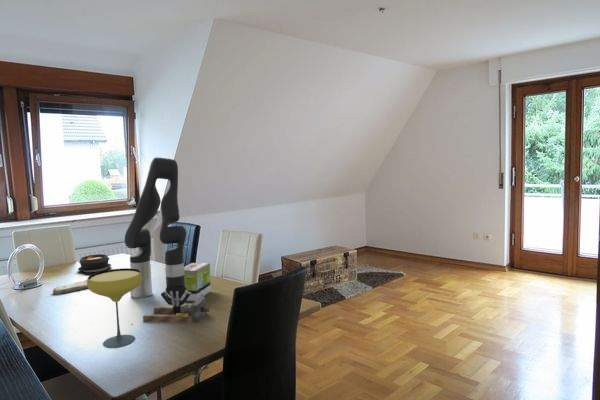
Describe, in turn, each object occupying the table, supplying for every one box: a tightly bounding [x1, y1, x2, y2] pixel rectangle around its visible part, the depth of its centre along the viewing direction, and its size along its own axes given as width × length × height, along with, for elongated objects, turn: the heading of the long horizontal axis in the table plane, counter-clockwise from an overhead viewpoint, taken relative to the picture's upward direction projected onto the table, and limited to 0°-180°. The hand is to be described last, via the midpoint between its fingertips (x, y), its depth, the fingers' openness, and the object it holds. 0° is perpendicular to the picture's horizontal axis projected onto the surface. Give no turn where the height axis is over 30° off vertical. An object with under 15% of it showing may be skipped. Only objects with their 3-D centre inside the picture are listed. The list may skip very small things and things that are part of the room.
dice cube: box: [180, 302, 194, 315], centre depth 177 cm, size 5×5×5 cm
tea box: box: [181, 262, 212, 302], centre depth 204 cm, size 15×10×15 cm
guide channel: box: [142, 296, 210, 324], centre depth 177 cm, size 26×11×7 cm, turn 84°
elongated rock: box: [52, 279, 89, 296], centre depth 226 cm, size 35×5×10 cm
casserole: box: [77, 253, 112, 273], centre depth 260 cm, size 25×19×8 cm
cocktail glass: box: [86, 267, 142, 349], centre depth 153 cm, size 18×18×25 cm
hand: (177, 314), depth 177 cm, fingers closed
